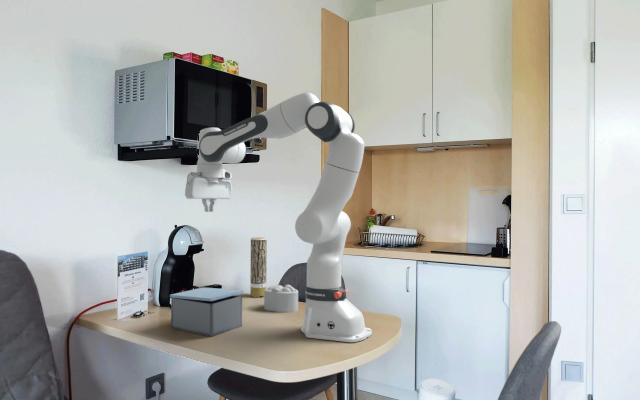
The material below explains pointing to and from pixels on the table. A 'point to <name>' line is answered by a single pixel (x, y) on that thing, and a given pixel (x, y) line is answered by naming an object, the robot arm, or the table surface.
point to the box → (206, 315)
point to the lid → (206, 294)
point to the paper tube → (258, 266)
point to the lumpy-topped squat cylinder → (281, 299)
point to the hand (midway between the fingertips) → (209, 211)
